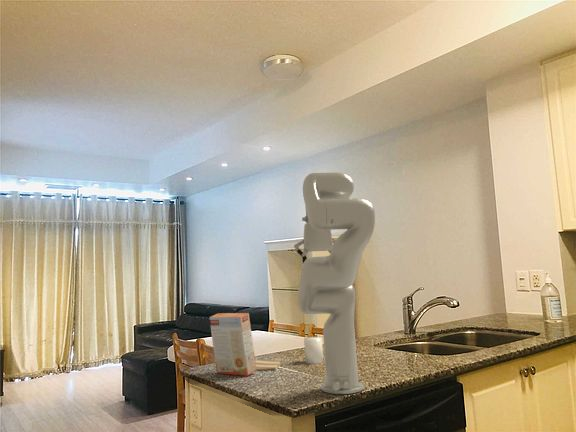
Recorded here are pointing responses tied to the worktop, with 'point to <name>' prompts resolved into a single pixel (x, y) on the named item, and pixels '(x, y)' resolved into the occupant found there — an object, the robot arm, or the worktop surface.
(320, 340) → the white rounded block
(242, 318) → the cracker box
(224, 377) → the worktop surface
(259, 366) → the cork board
